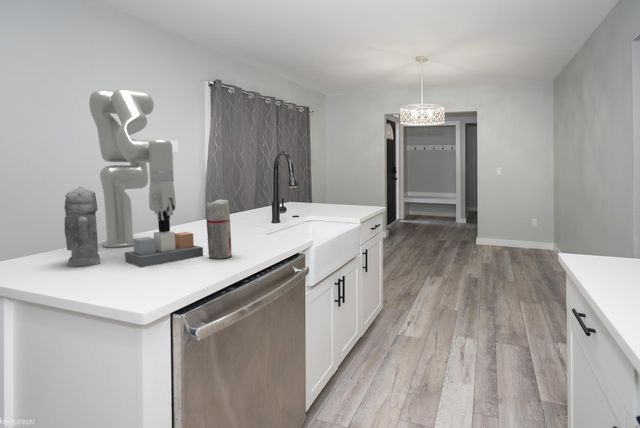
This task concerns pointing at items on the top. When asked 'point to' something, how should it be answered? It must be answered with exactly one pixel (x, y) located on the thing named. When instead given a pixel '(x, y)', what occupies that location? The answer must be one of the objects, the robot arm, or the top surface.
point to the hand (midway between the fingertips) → (164, 231)
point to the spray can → (218, 229)
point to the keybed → (163, 256)
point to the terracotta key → (184, 240)
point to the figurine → (81, 227)
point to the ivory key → (164, 241)
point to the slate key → (144, 246)
